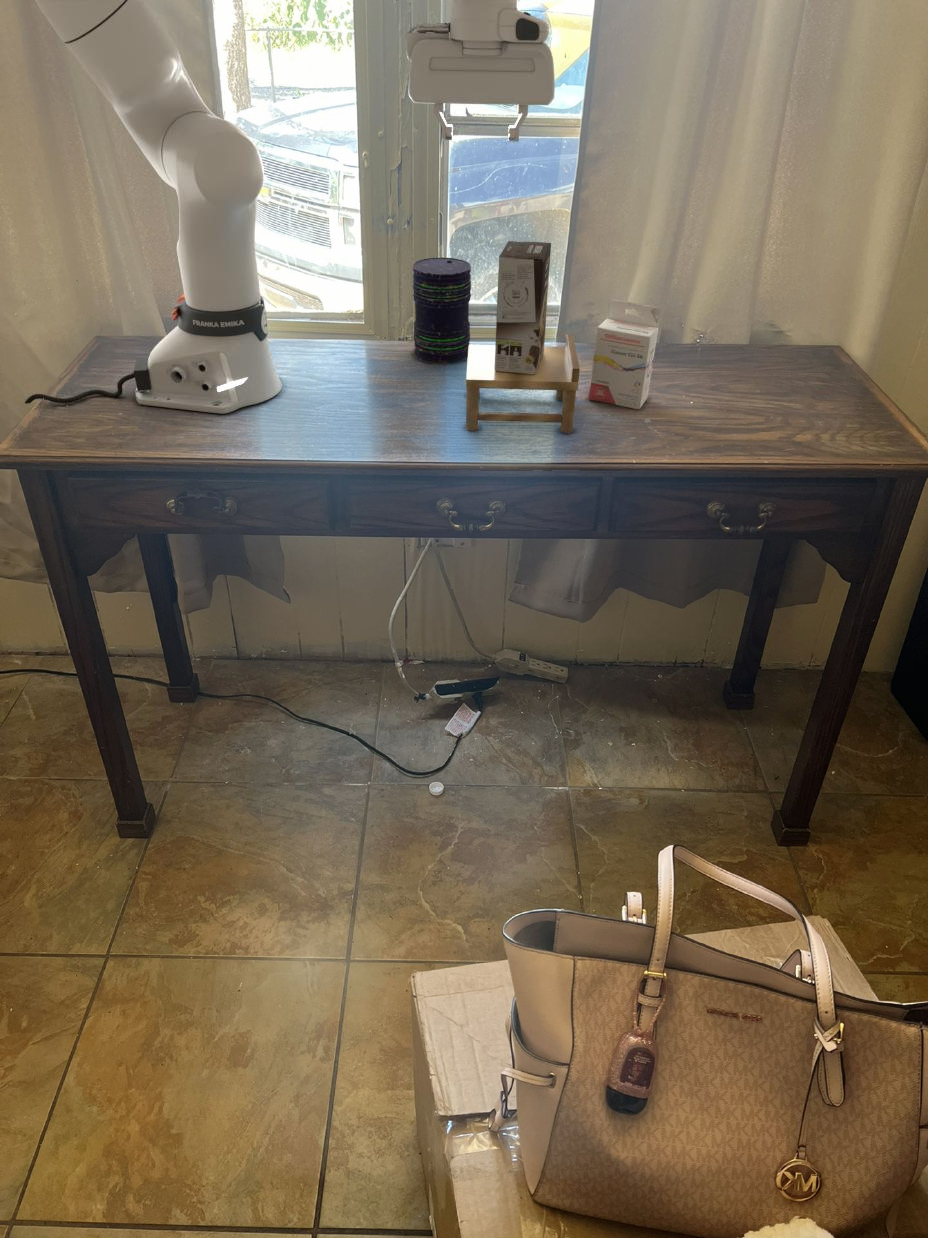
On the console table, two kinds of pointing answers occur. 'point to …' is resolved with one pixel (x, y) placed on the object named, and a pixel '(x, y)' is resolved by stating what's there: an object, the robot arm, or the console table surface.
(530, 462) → the console table surface
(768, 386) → the console table surface
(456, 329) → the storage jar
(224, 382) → the robot arm
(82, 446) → the console table surface
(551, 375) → the miniature wooden bench
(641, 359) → the ink cartridge box
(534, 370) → the coffee box
